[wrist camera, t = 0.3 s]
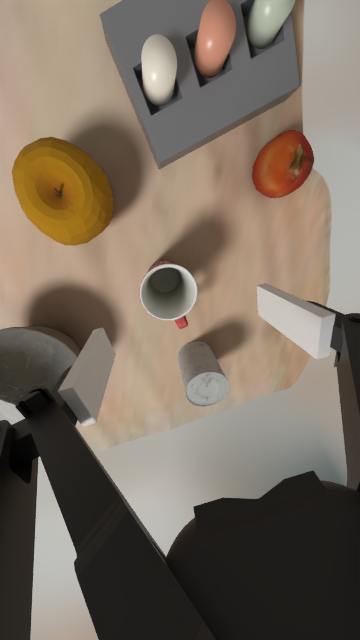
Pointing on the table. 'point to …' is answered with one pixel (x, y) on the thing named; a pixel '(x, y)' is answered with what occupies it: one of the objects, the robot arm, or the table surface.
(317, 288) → the table surface
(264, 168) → the tomato
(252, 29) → the button sage
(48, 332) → the bowl
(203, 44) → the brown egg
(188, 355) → the grey stone cylinder
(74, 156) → the apple
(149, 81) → the button cream
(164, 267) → the mug
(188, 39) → the panel
